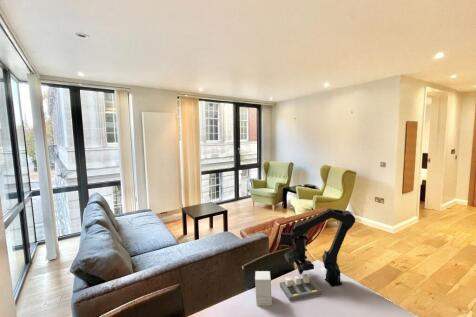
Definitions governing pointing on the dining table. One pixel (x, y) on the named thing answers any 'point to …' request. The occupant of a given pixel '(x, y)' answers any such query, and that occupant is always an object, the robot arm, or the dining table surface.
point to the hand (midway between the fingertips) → (300, 274)
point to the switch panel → (300, 290)
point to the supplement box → (263, 288)
